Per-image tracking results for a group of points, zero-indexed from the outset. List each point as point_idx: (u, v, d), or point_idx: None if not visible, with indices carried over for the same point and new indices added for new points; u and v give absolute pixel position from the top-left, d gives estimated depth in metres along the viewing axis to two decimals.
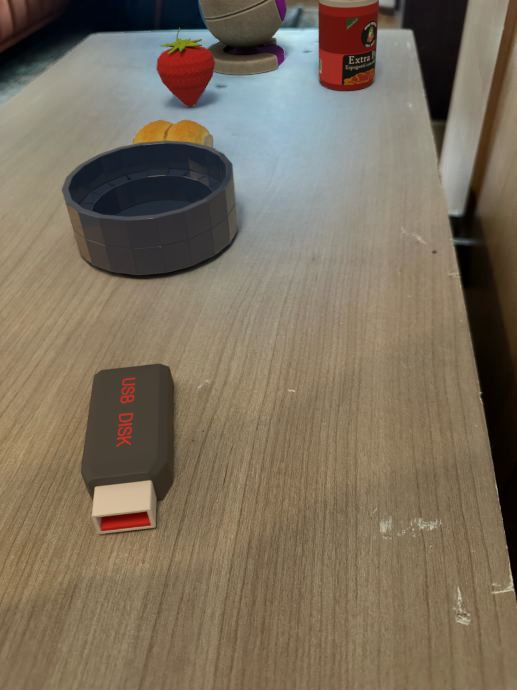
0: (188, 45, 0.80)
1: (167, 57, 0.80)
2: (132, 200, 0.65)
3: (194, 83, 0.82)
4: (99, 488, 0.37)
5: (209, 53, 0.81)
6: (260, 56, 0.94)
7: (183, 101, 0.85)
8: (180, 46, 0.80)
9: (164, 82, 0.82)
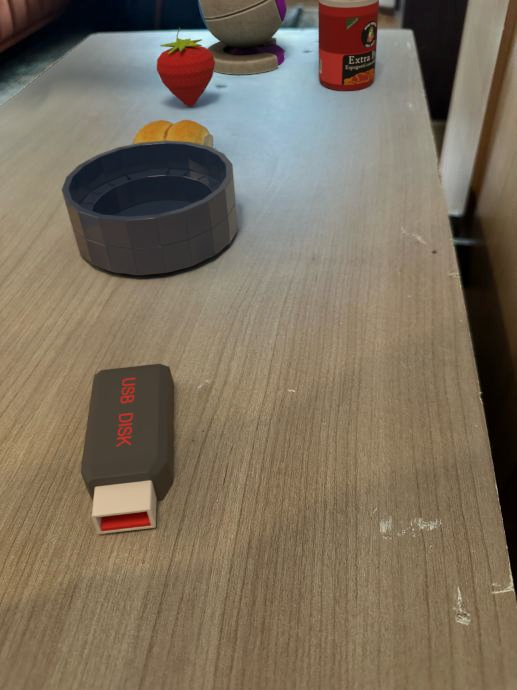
0: (188, 45, 0.80)
1: (167, 57, 0.80)
2: (132, 200, 0.65)
3: (194, 83, 0.82)
4: (99, 488, 0.37)
5: (209, 53, 0.81)
6: (260, 56, 0.94)
7: (183, 101, 0.85)
8: (180, 46, 0.80)
9: (164, 82, 0.82)
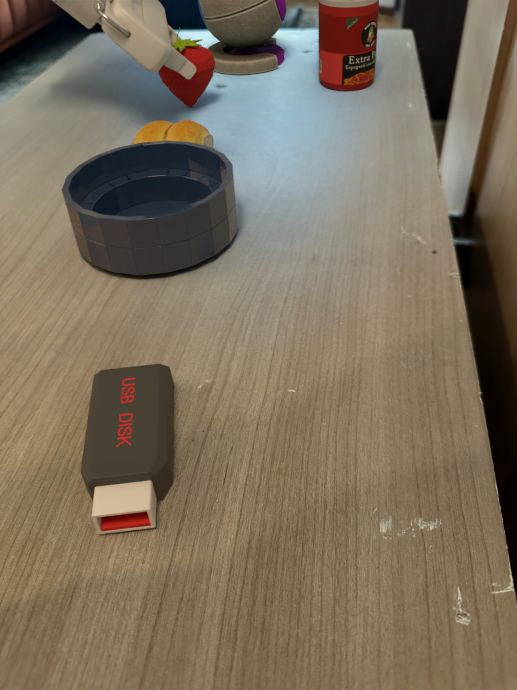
0: (188, 45, 0.80)
1: None
2: (132, 200, 0.65)
3: (195, 83, 0.82)
4: (99, 488, 0.37)
5: (209, 53, 0.81)
6: (260, 56, 0.94)
7: (183, 101, 0.85)
8: (180, 46, 0.80)
9: (164, 82, 0.82)
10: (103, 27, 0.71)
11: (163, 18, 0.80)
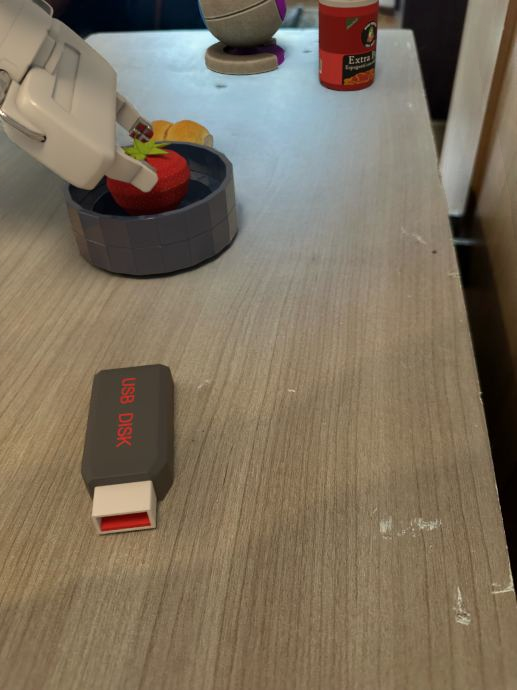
0: (151, 153, 0.55)
1: None
2: None
3: (161, 205, 0.57)
4: (99, 488, 0.37)
5: (182, 162, 0.57)
6: (260, 56, 0.94)
7: None
8: (139, 156, 0.55)
9: (118, 202, 0.57)
10: (4, 126, 0.45)
11: (110, 94, 0.55)
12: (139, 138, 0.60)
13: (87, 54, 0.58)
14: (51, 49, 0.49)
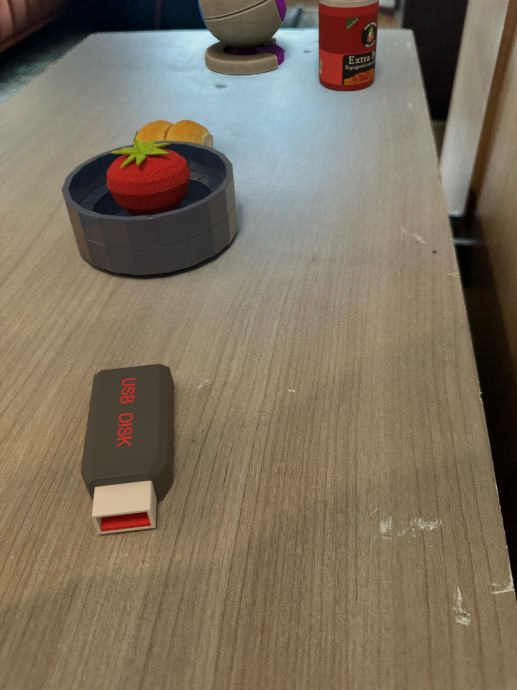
0: (151, 153, 0.55)
1: (120, 170, 0.55)
2: None
3: (161, 205, 0.57)
4: (99, 488, 0.37)
5: (182, 162, 0.57)
6: (260, 56, 0.94)
7: None
8: (139, 156, 0.55)
9: (118, 202, 0.57)
10: None
11: None
12: None
13: None
14: None
